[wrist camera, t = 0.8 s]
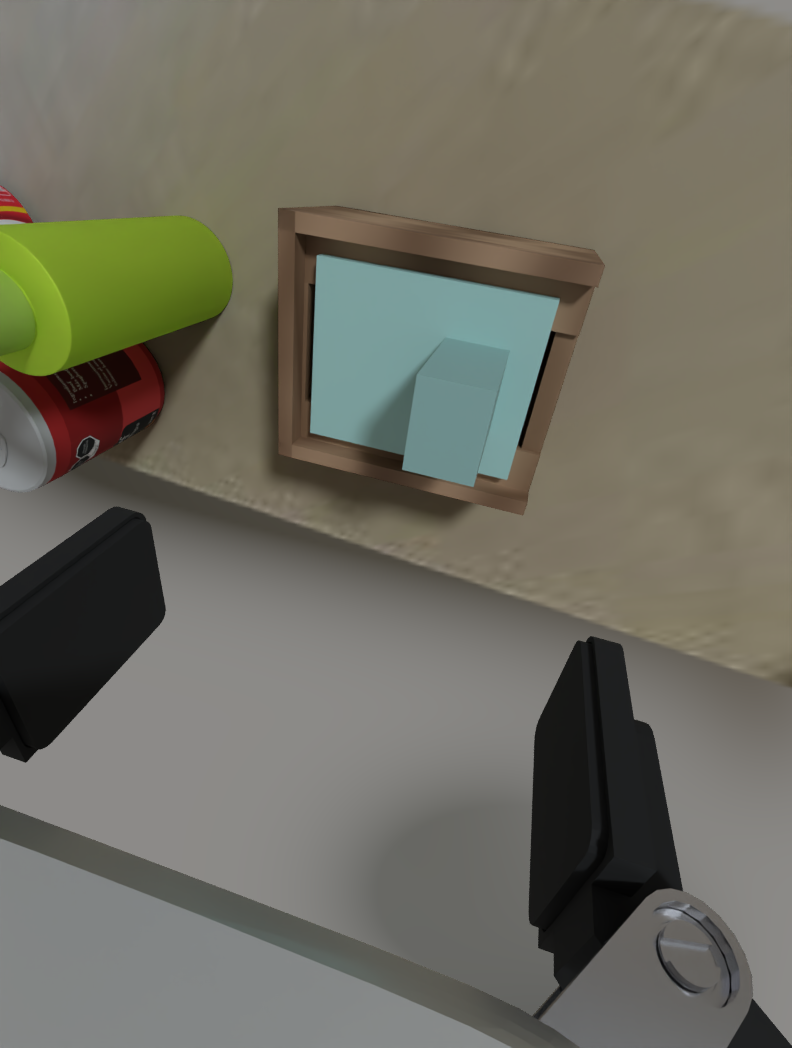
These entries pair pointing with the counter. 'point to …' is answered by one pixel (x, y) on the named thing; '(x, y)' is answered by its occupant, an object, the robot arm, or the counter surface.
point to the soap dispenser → (103, 287)
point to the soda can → (11, 209)
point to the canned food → (73, 414)
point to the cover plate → (403, 341)
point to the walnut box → (438, 254)
